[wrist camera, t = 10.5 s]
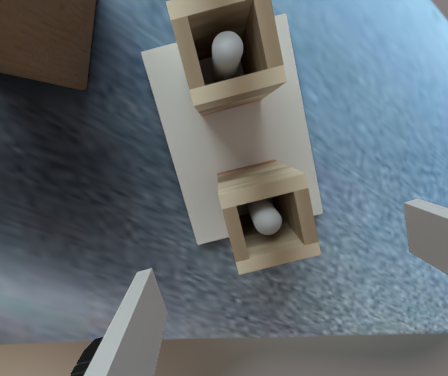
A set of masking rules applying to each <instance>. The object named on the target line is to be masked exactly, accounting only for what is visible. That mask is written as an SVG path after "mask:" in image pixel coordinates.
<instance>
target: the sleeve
mask: <svg viewBox="0 0 448 376" xmlns="http://www.w3.org/2000/svg"><path fill="white" fill-rule="evenodd" d="M217 179H218V196H219V200H220V204H221V208H222V212H223V216H224V219H225V223H226V227H227V231H228V235H229V239H230V242H231V246H232V250H233V254H234V258H235V262H236V265H237V269H238V273H239V275H240V274H244V273H248V272H253V271H257V270H261V269H265V268H269V267H273V266H277V265H281V264H285V263H289V262H293V261H298V260H302V259H306V258H310V257H314V256H318V255H321V252H320V247H319V241H318V236H317V231H316V226H315V220H314V215H313V210H312V204H311V199H310V194H309V189H308V183H307V178H306V174H305V173H303V172H301V171H299V170H296V169H294V168H292V167H290V166H288V165H285V164H283V163H281V162H279V161H276V160H274V159H273V160H269V161H265V162H261V163H257V164H253V165H249V166H245V167H241V168H237V169H233V170H230V171H226V172H222V173H218V174H217ZM270 197H272V199H273V203H274V208H275V209H276V210H277V212H278V213H279V214H280V216H281V219H282V224H281V227H280V229H279V230H278V231H277V232H276V233H274V234H271V235H264V234H261V233H260V232H258V231H257V229H256V228H255V225H254V223H253V221H252V218H251V216H250V213H249V214H245V215H241V216H239V215H238V211H237V207H236V206H238V205H242V204H246V203H250V202H254V201H258V200H262V199H266V198H270Z"/></svg>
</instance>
